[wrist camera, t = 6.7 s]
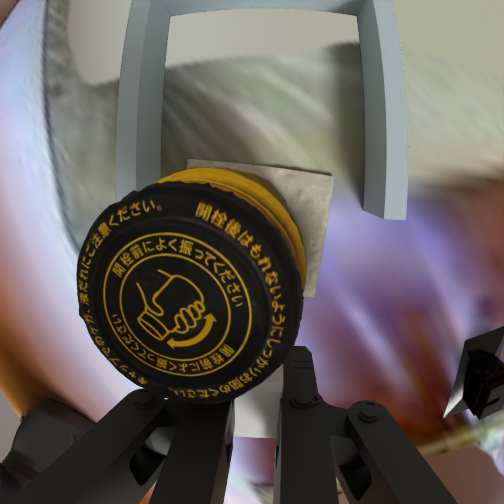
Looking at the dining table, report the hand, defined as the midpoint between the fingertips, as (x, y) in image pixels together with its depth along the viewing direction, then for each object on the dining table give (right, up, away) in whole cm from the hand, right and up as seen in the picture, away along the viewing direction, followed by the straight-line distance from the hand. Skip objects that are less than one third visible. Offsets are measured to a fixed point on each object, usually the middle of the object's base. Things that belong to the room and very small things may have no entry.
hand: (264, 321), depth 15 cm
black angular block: (+20, -7, +5) cm, 22 cm away
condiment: (-1, +5, +3) cm, 6 cm away
